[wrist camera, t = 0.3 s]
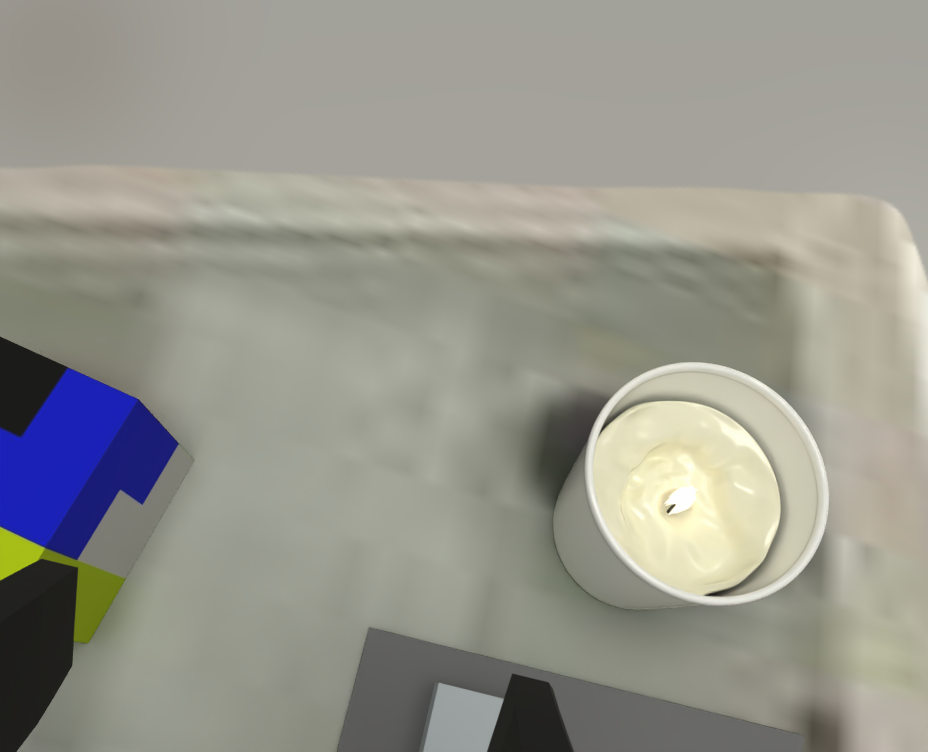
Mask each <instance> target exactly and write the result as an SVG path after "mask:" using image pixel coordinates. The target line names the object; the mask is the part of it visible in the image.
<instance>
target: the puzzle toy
mask: <svg viewBox="0 0 928 752" xmlns="http://www.w3.org/2000/svg"><path fill="white" fill-rule="evenodd" d="M193 462H194V459H193V458H192V457H191V456H190V455H189V454H188V453H187V452H186V451H185V450H184V449H183V447H182V446H181V445H180V444H179V443H178V442H177V441H176V440H175V439H174V438H173V436H172V435H171V434H170V433H169V432H168V431H167V430H166V429H165V428H164V427H163V426H162V424H161V423H160V422H159V421H158V420H157V419H156V418H155V417H154V416H153V415H152V414H151V412H150V411H149V410H148V409H147V408H146V407H145V406H144V405H143V404H142V403H141V401H140V400H139V399H137V398H134V397H132V396H130V395H128V394H126V393H123V392H121V391H119V390H117V389H115V388H112V387H110V386H108V385H106V384H104V383H101V382H99V381H97V380H95V379H92V378H90V377H88V376H86V375H84V374H81V373H79V372H77V371H75V370H73V369H70V368H68V367H66V366H64V365H62V364H59V363H57V362H55V361H53V360H50V359H48V358H46V357H44V356H42V355H39V354H37V353H35V352H33V351H31V350H28V349H26V348H24V347H22V346H20V345H17V344H15V343H13V342H11V341H9V340H6V339H4V338H2V337H0V580H2V579H4V578H6V577H7V576H9V575H11V574H13V573H15V572H17V571H19V570H21V569H22V568H24V567H26V566H28V565H30V564H32V563H34V562H36V561H38V560H40V559H45V560H49V561H53V562H57V563H62V564H66V565H70V566H74V567H78V580H77V596H76V612H75V627H74V642H82V643H89V641H90V639H91V638H92V636H93V634H94V633H95V631H96V629H97V627H98V626H99V624H100V622H101V621H102V619H103V617H104V615H105V614H106V612H107V610H108V608H109V607H110V605H111V603H112V602H113V600H114V598H115V596H116V595H117V593H118V591H119V590H120V588H121V586H122V584H123V583H124V581H125V579H126V577H127V576H128V574H129V572H130V571H131V569H132V567H133V565H134V564H135V562H136V560H137V559H138V557H139V555H140V553H141V552H142V550H143V548H144V546H145V545H146V543H147V541H148V540H149V538H150V536H151V534H152V533H153V531H154V529H155V528H156V526H157V524H158V522H159V521H160V519H161V517H162V515H163V514H164V512H165V510H166V509H167V507H168V505H169V503H170V502H171V500H172V498H173V497H174V495H175V493H176V491H177V490H178V488H179V486H180V484H181V483H182V481H183V479H184V478H185V476H186V474H187V472H188V471H189V469H190V467H191V466H192V464H193Z"/></svg>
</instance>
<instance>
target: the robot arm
mask: <svg viewBox="0 0 928 752" xmlns="http://www.w3.org/2000/svg"><path fill="white" fill-rule="evenodd" d="M77 580H78V567H74V566H70V565H66V564H62V563H57V562H53V561H49V560H45V559H40V560H38V561H36V562H34V563H32V564H30V565H28V566H26V567H24V568H22V569H21V570H19V571H17V572H15V573H13V574H11V575H9V576H7V577H6V578H4V579H2V580H0V752H16V751H17V750H18V749H19V747H20V746H21V745H22V744H23V742H24V741H25V740H26V738H27V737H28V736H29V734H30V733H31V732H32V730H33V729H34V728H35V726H36V725H37V724H38V722H39V720H40V719H41V717H42V716H43V714H44V712H45V711H46V709H47V707H48V706H49V704H50V703H51V701H52V699H53V698H54V696H55V694H56V693H57V691H58V689H59V687H60V686H61V684H62V682H63V681H64V679H65V677H66V675H67V674H68V672H69V670H70V669H71V667H72V659H73V643H74V627H75V612H76V596H77ZM487 752H574V750H573V747H572V744H571V741H570V739H569V736H568V733H567V730H566V728H565V725H564V722H563V719H562V716H561V713H560V710H559V707H558V703H557V700H556V697H555V694H554V690H553V688H552V687H551V685H550V683H549V682H546V681H541V680H537V679H533V678H529V677H525V676H521V675H517V674H513V673H512V676H511V679H510V682H509V685H508V688H507V691H506V694H505V697H504V700H503V703H502V706H501V709H500V713H499V716H498V719H497V722H496V725H495V728H494V731H493V734H492V737H491V740H490V743H489V747H488V750H487Z"/></svg>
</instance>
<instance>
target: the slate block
mask: <svg viewBox="0 0 928 752" xmlns="http://www.w3.org/2000/svg"><path fill="white" fill-rule="evenodd" d="M503 700H504V699H502V698H498V697H494V696H490V695H486V694H482V693H478V692H474V691H470V690H466V689H462V688H458V687H454V686H450V685H446V684H442V683H434V688H433V692H432V696H431V701H430V705H429V709H428V714H427V718H426V723H425V727H424V731H423V736H422V740H421V744H420V749H419V752H487V750H488V747H489V743H490V740H491V737H492V734H493V731H494V728H495V725H496V722H497V719H498V716H499V713H500V709H501V706H502V703H503Z"/></svg>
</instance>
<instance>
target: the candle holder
mask: <svg viewBox="0 0 928 752" xmlns="http://www.w3.org/2000/svg"><path fill="white" fill-rule="evenodd" d="M828 508H829V489H828V480H827V474H826V470H825V466H824V462H823V459H822V456H821V453H820V451H819V448H818V446H817V444H816V442H815V440H814V438H813V436H812V434H811V433H810V431H809V429H808V428H807V426H806V425H805V423H804V422H803V420H802V419H801V418H800V416H799V415H798V414H797V413H796V411H795V410H794V409H793V408H792V407H791V406H790V405H789V404H788V403H787V402H786V401H785V400H784V399H783V398H782V397H781V396H780V395H778V394H777V393H776V392H775V391H773V390H772V389H771V388H769V387H768V386H766V385H765V384H763V383H762V382H760V381H758V380H757V379H755V378H753V377H751V376H749V375H747V374H745V373H742V372H740V371H737V370H734V369H731V368H728V367H725V366H721V365H716V364H710V363H700V362H685V363H675V364H670V365H665V366H661V367H658V368H655V369H652V370H650V371H647V372H645V373H643V374H641V375H639V376H637V377H636V378H634V379H632V380H631V381H629V382H628V383H627V384H625V385H624V386H623V387H622V388H620V389H619V390H618V391H617V392H616V393H615V394H614V395H613V396H612V397H611V398H610V400H609V401H608V402H607V403H606V405H605V406H604V407H603V409H602V410H601V412H600V414H599V415H598V417H597V419H596V421H595V423H594V425H593V428H592V430H591V433H590V436H589V438H588V439H587V441H586V443H585V445H584V447H583V449H582V450H581V452H580V454H579V456H578V458H577V460H576V461H575V463H574V465H573V467H572V469H571V471H570V472H569V474H568V476H567V478H566V480H565V482H564V484H563V486H562V488H561V490H560V493H559V495H558V498H557V501H556V504H555V509H554V515H553V534H554V540H555V545H556V548H557V551H558V554H559V557H560V559H561V561H562V563H563V565H564V567H565V568H566V570H567V571H568V573H569V574H570V576H571V577H572V578H573V579H574V581H575V582H576V583H577V584H578V585H579V586H580V587H581V588H582V589H584V590H585V591H586V592H587V593H589V594H590V595H592V596H593V597H595V598H596V599H598V600H600V601H602V602H604V603H607V604H609V605H612V606H615V607H619V608H623V609H630V610H655V609H668V608H680V607H693V606H705V605H710V606H731V605H739V604H744V603H749V602H753V601H756V600H759V599H762V598H764V597H766V596H769V595H771V594H773V593H775V592H776V591H778V590H780V589H781V588H783V587H784V586H786V585H787V584H788V583H790V582H791V581H792V580H793V579H794V578H795V577H797V576H798V575H799V574H800V572H801V571H802V570H803V569H804V568H805V567H806V565H807V564H808V563H809V561H810V560H811V558H812V557H813V555H814V554H815V552H816V550H817V548H818V546H819V544H820V541H821V539H822V536H823V533H824V530H825V526H826V522H827V516H828Z"/></svg>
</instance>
